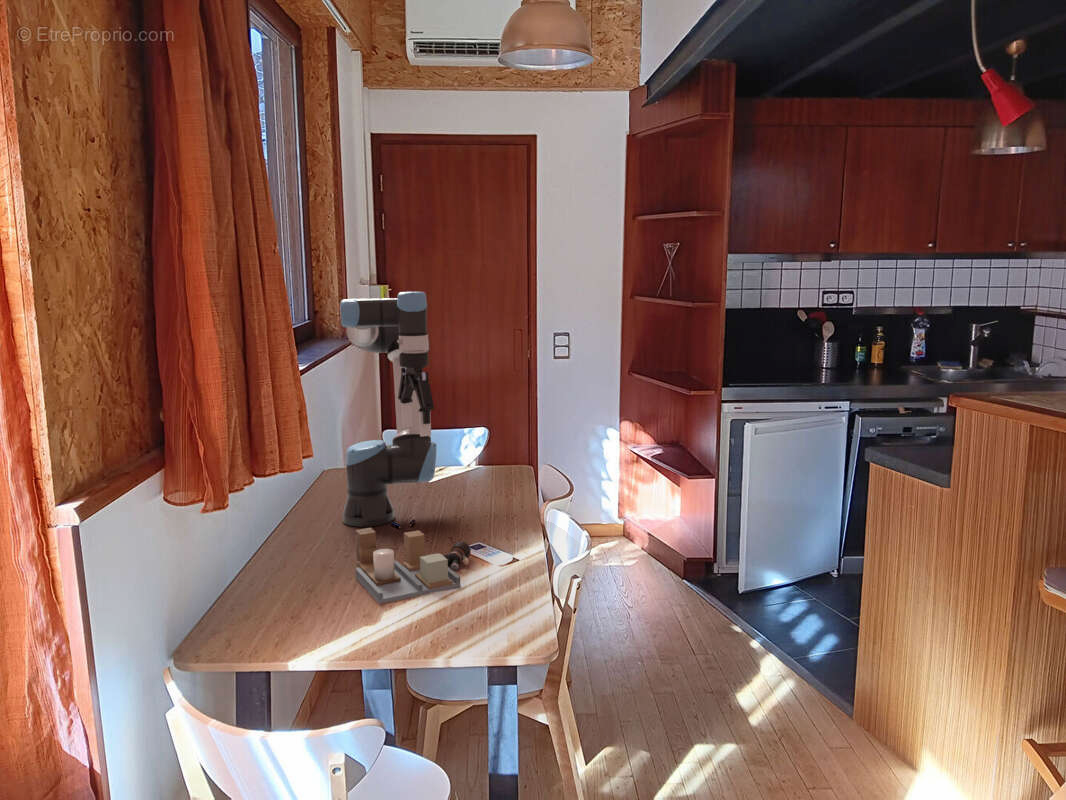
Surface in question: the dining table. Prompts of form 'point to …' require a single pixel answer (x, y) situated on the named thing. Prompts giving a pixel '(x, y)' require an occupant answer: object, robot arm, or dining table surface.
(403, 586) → the lane board
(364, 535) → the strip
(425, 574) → the sage block
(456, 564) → the figurine
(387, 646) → the dining table surface
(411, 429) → the robot arm
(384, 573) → the cream rounded capsule
